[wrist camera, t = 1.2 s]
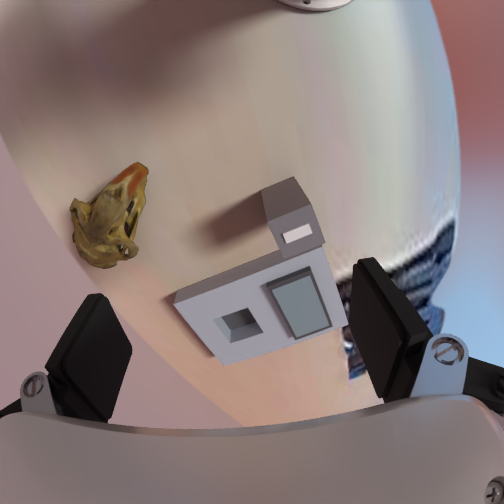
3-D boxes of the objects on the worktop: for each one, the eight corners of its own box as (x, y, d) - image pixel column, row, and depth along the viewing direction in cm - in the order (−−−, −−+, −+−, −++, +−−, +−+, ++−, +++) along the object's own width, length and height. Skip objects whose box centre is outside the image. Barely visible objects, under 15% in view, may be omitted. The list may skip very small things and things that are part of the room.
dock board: (316, 234, 34) (324, 250, 31) (342, 310, 41) (350, 329, 37) (177, 290, 38) (171, 309, 35) (224, 351, 45) (223, 370, 41)
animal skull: (194, 158, 26) (152, 235, 21) (146, 230, 38) (116, 291, 32) (118, 112, 23) (55, 177, 17) (92, 197, 34) (54, 255, 28)
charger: (293, 176, 31) (311, 204, 23) (305, 206, 33) (326, 243, 25) (260, 190, 32) (267, 223, 24) (274, 219, 33) (284, 260, 25)
